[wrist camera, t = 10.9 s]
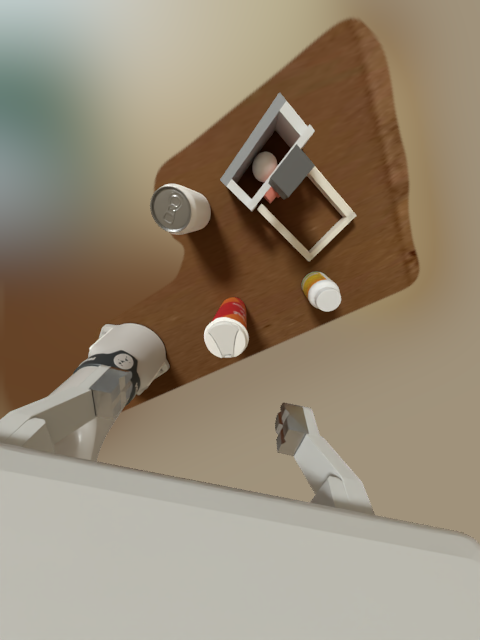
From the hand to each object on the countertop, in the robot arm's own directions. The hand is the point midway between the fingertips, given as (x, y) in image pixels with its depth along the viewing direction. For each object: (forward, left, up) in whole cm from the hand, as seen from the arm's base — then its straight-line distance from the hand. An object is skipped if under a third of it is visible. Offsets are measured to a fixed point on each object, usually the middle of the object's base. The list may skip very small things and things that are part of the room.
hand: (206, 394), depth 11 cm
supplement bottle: (+7, -14, -35) cm, 38 cm away
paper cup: (-9, -5, -35) cm, 37 cm away
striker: (+14, +4, -35) cm, 38 cm away
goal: (+14, +7, -35) cm, 38 cm away
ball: (+14, +7, -33) cm, 37 cm away
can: (+1, +13, -35) cm, 38 cm away
